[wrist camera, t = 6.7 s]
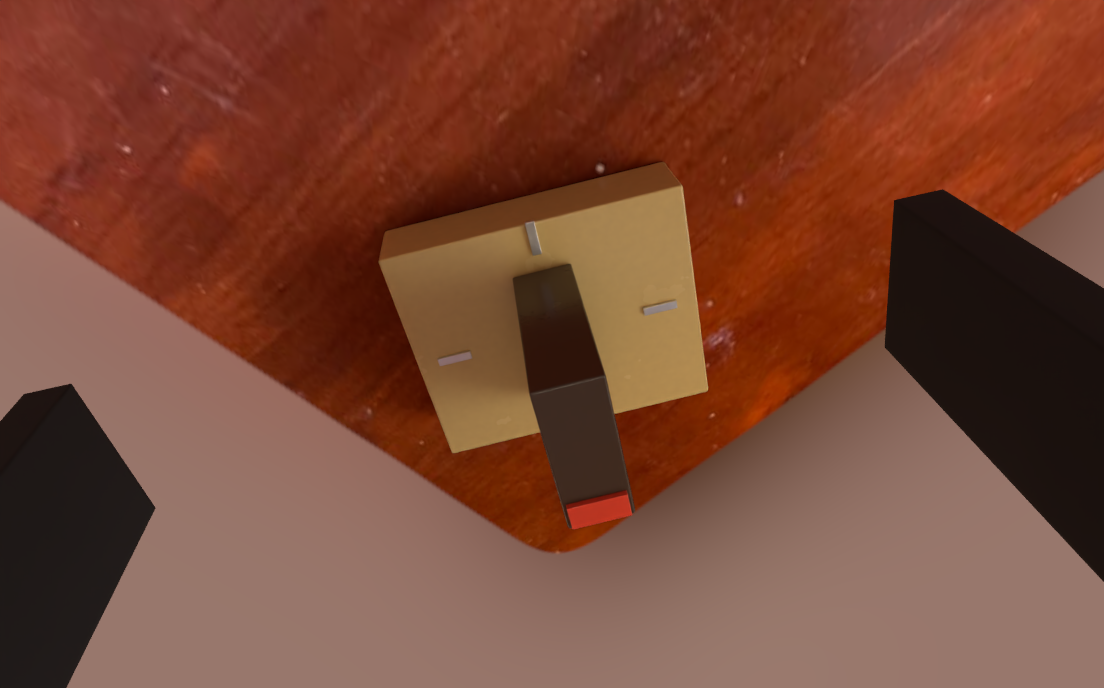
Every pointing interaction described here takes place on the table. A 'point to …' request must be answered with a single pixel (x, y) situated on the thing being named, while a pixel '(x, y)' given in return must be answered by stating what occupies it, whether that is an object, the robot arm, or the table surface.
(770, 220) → the table surface
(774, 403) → the table surface
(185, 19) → the table surface
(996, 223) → the robot arm
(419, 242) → the lock plate
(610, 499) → the lock turn
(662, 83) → the table surface
